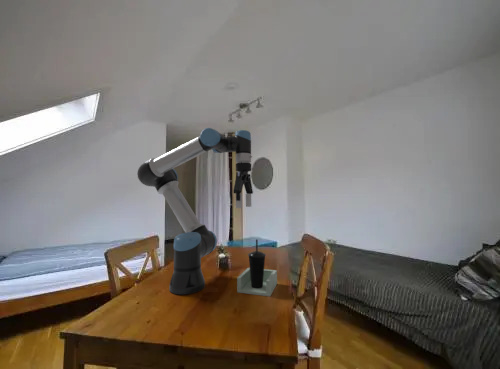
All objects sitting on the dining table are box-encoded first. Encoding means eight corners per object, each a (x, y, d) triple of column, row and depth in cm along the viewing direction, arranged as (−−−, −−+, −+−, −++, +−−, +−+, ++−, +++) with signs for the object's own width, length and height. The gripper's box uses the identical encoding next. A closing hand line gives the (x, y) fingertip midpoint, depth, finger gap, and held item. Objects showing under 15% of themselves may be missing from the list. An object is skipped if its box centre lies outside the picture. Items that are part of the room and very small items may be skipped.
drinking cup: (266, 283, 103) (266, 238, 104) (264, 290, 96) (264, 241, 97) (250, 282, 105) (249, 237, 106) (246, 289, 97) (246, 240, 98)
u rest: (237, 292, 97) (237, 277, 97) (248, 280, 110) (247, 267, 110) (270, 296, 92) (269, 281, 93) (277, 283, 106) (276, 270, 106)
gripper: (241, 158, 99) (242, 208, 98) (258, 165, 122) (258, 206, 121) (225, 159, 101) (226, 208, 100) (244, 166, 125) (245, 206, 124)
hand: (244, 207), depth 111 cm, fingers open, 13 cm apart
